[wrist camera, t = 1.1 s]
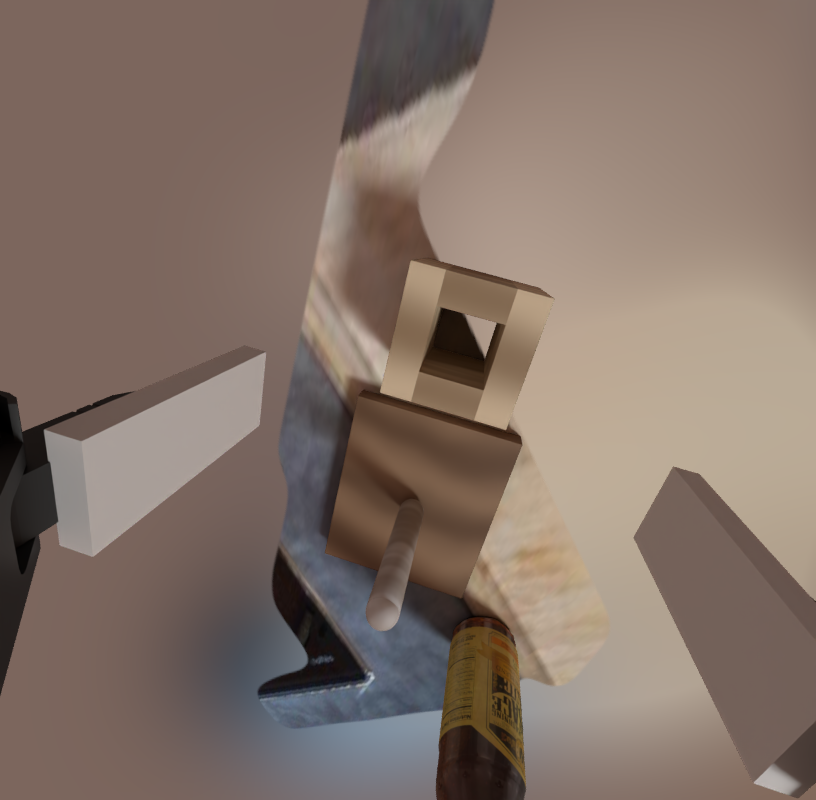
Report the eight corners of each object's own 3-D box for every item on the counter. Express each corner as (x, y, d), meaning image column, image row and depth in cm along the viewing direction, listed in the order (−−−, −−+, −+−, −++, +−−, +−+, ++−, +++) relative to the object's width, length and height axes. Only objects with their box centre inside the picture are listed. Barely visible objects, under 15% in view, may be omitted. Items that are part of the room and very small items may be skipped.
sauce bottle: (525, 656, 40) (558, 1005, 21) (463, 663, 42) (445, 992, 23) (503, 604, 38) (519, 934, 20) (440, 614, 40) (401, 926, 21)
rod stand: (363, 389, 33) (289, 473, 21) (520, 436, 32) (542, 554, 20) (330, 542, 39) (257, 678, 27) (462, 586, 38) (450, 748, 26)
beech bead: (427, 258, 29) (410, 260, 23) (539, 287, 28) (554, 298, 22) (401, 363, 32) (380, 392, 26) (502, 392, 31) (505, 429, 25)
